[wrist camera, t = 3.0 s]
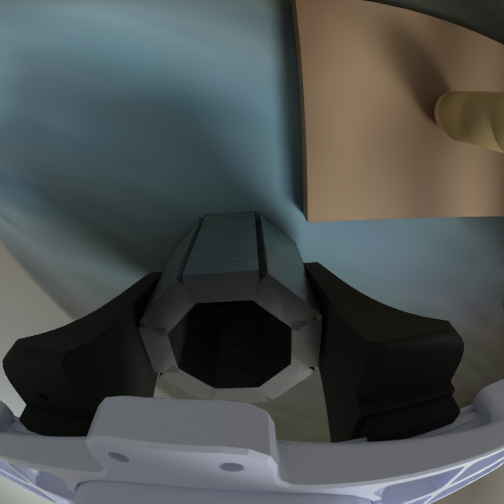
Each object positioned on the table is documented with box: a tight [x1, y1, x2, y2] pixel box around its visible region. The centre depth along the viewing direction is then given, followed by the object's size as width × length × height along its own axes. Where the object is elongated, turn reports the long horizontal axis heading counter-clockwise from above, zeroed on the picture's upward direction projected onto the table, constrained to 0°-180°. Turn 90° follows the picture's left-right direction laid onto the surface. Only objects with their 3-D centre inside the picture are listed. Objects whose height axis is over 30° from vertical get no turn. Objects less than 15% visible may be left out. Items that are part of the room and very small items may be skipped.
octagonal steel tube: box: [138, 212, 322, 403], centre depth 11 cm, size 6×6×5 cm
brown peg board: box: [291, 0, 504, 223], centre depth 8 cm, size 12×9×6 cm
